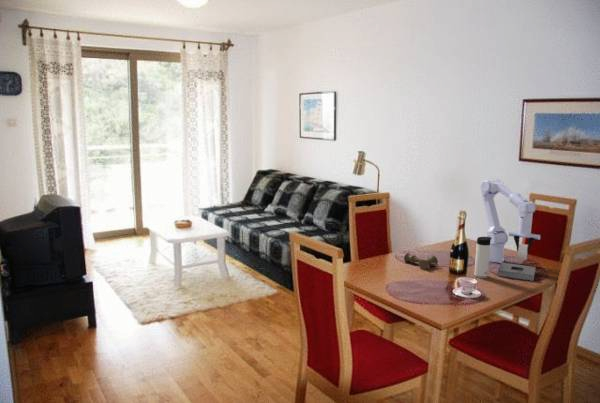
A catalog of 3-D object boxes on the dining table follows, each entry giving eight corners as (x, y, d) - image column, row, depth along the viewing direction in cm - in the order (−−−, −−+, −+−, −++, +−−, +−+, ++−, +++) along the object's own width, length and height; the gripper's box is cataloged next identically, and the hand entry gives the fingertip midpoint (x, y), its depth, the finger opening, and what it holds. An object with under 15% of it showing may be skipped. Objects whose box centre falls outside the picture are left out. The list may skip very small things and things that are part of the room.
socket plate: (497, 275, 242) (498, 270, 241) (500, 267, 254) (501, 262, 253) (533, 281, 234) (533, 275, 234) (534, 272, 247) (535, 267, 246)
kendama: (411, 260, 267) (443, 268, 252) (400, 264, 261) (433, 273, 246) (411, 250, 266) (444, 257, 251) (400, 254, 260) (433, 261, 245)
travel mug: (489, 279, 237) (492, 239, 233) (475, 278, 238) (478, 238, 235) (487, 274, 243) (490, 235, 239) (473, 273, 244) (476, 235, 241)
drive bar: (517, 258, 249) (518, 245, 248) (518, 256, 252) (519, 243, 251) (526, 260, 247) (527, 246, 246) (526, 257, 251) (527, 244, 249)
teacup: (447, 293, 219) (448, 280, 218) (460, 286, 227) (461, 273, 226) (472, 300, 211) (474, 287, 209) (485, 293, 219) (486, 280, 218)
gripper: (509, 225, 246) (506, 251, 249) (541, 228, 240) (538, 255, 242) (510, 222, 252) (507, 248, 255) (541, 225, 246) (538, 251, 248)
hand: (522, 251), depth 249 cm, fingers closed on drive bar, 4 cm apart
